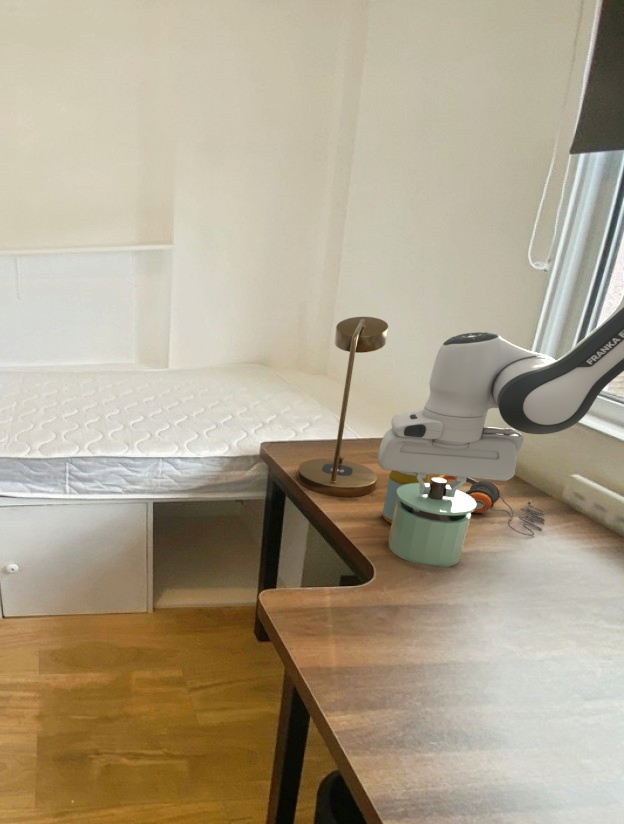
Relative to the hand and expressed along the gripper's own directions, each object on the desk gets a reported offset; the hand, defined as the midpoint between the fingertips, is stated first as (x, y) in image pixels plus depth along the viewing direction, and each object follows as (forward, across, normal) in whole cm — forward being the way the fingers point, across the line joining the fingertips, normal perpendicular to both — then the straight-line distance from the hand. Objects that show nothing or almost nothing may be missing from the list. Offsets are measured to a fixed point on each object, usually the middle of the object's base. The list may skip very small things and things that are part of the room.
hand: (435, 494), depth 103 cm
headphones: (+12, -15, -22) cm, 29 cm away
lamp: (+12, +13, -34) cm, 38 cm away
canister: (+12, 0, 0) cm, 12 cm away
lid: (+1, 0, 0) cm, 1 cm away
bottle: (+12, +2, -12) cm, 17 cm away
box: (+12, 0, 0) cm, 12 cm away
